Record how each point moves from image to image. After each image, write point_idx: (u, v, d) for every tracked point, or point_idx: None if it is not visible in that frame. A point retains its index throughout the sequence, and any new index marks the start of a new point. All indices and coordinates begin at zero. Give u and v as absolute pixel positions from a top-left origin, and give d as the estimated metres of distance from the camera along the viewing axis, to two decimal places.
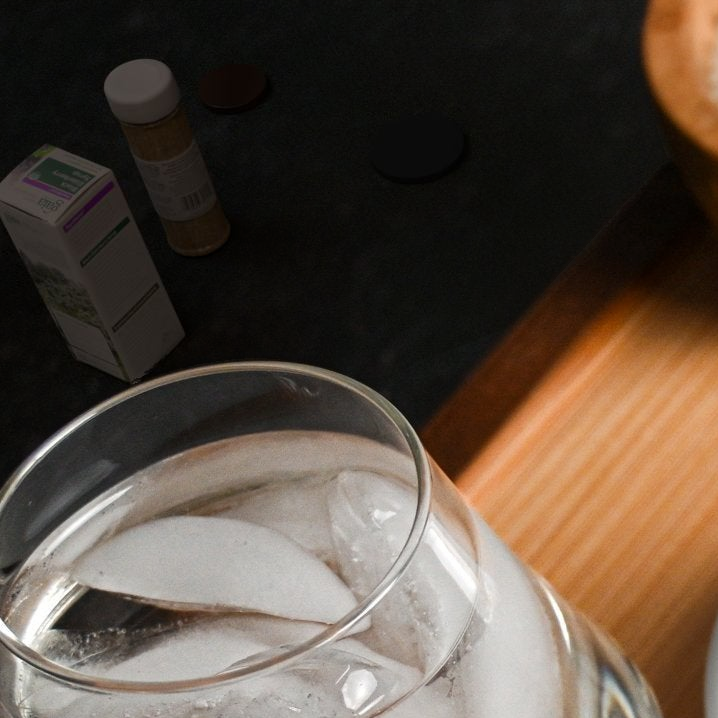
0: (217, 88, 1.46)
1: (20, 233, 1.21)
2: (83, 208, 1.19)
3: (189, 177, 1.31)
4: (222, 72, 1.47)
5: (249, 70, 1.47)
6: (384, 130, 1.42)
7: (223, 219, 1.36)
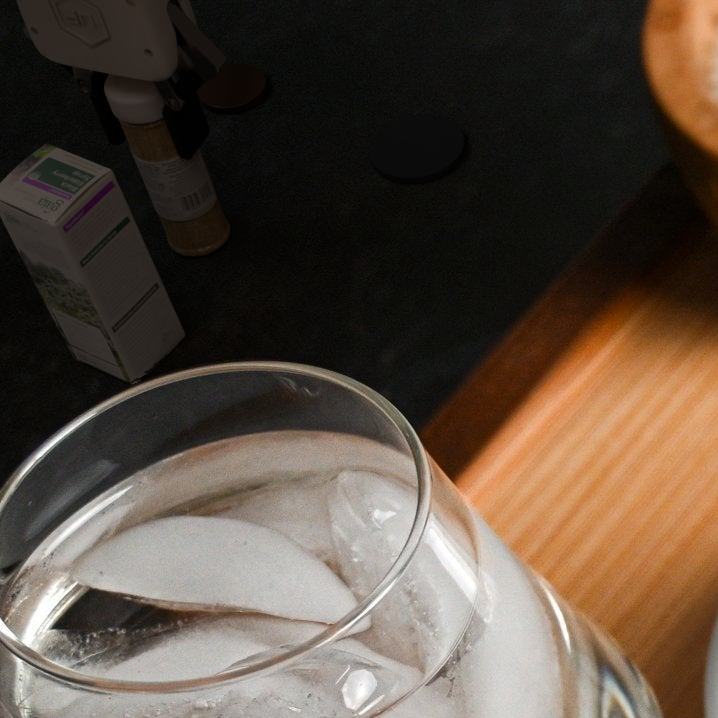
0: (217, 88, 1.46)
1: (20, 233, 1.21)
2: (83, 208, 1.19)
3: (189, 178, 1.31)
4: (222, 72, 1.47)
5: (249, 70, 1.47)
6: (384, 130, 1.42)
7: (223, 219, 1.36)
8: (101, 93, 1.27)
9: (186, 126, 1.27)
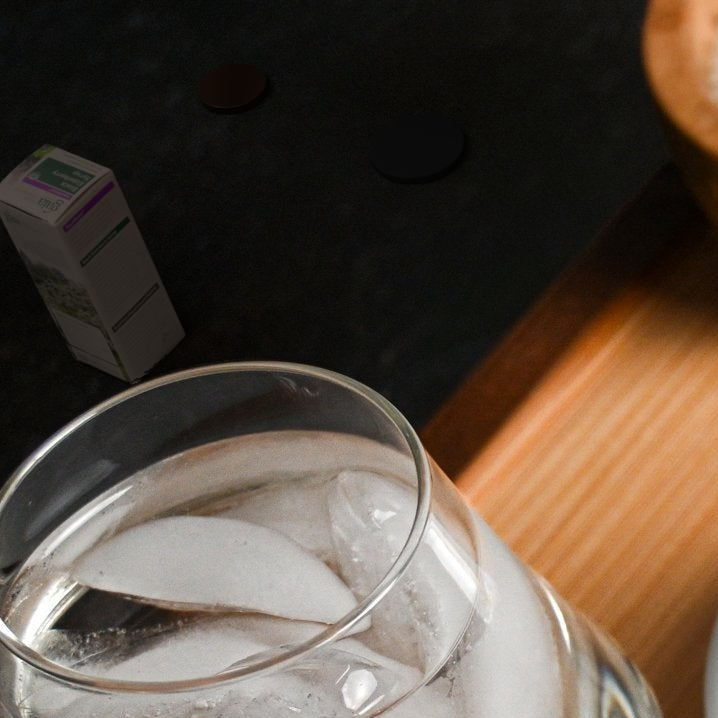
0: (217, 88, 1.46)
1: (20, 233, 1.21)
2: (83, 208, 1.19)
3: None
4: (222, 72, 1.47)
5: (249, 70, 1.47)
6: (384, 130, 1.42)
7: None
8: None
9: None
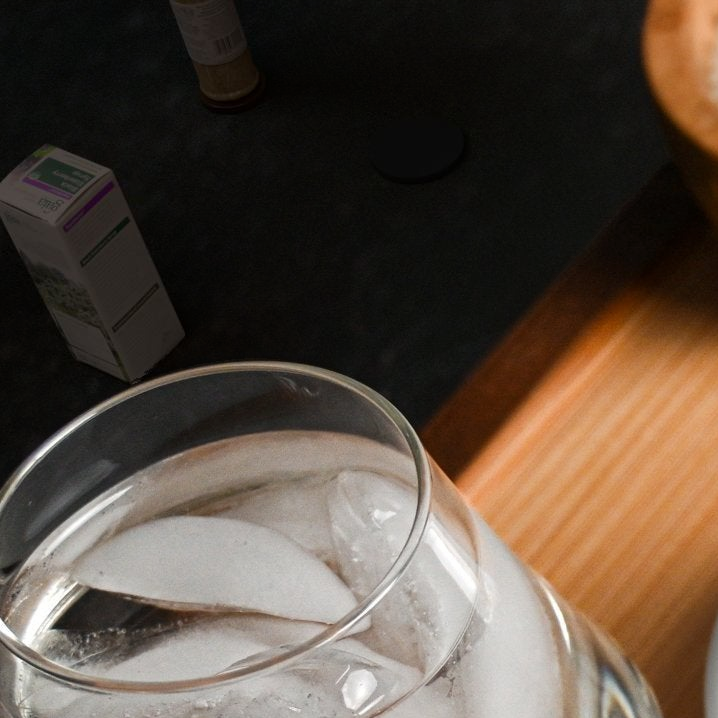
0: None
1: (20, 233, 1.21)
2: (83, 208, 1.19)
3: (221, 21, 1.39)
4: None
5: None
6: (384, 130, 1.42)
7: (253, 66, 1.44)
8: None
9: None
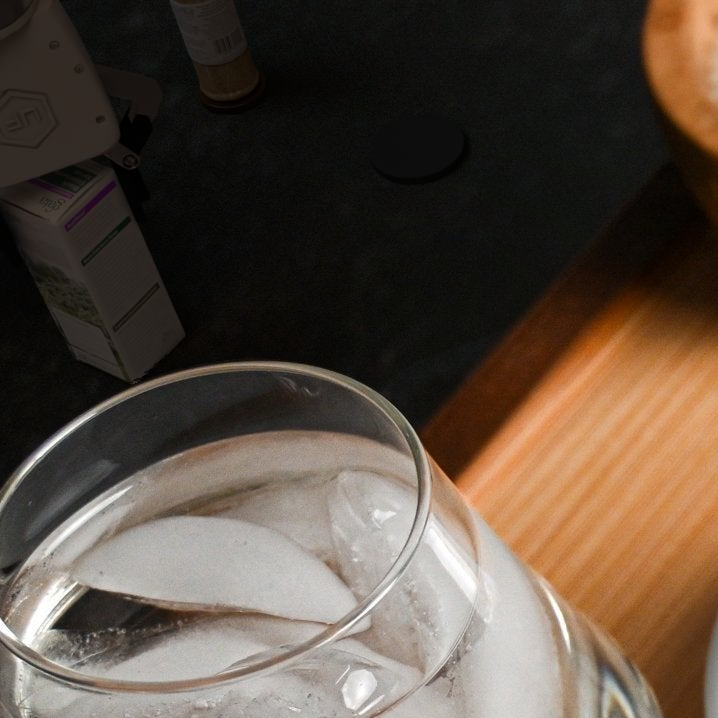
0: None
1: (21, 232, 1.21)
2: (85, 207, 1.19)
3: (221, 21, 1.39)
4: None
5: None
6: (384, 130, 1.42)
7: (253, 66, 1.44)
8: None
9: (137, 186, 1.22)
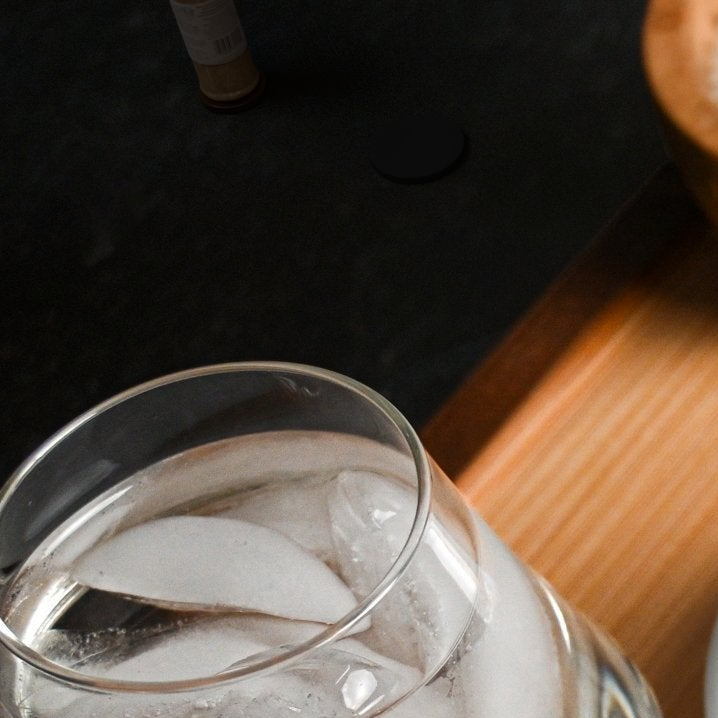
0: None
1: None
2: None
3: (221, 21, 1.39)
4: None
5: None
6: (384, 130, 1.42)
7: (253, 66, 1.44)
8: None
9: None
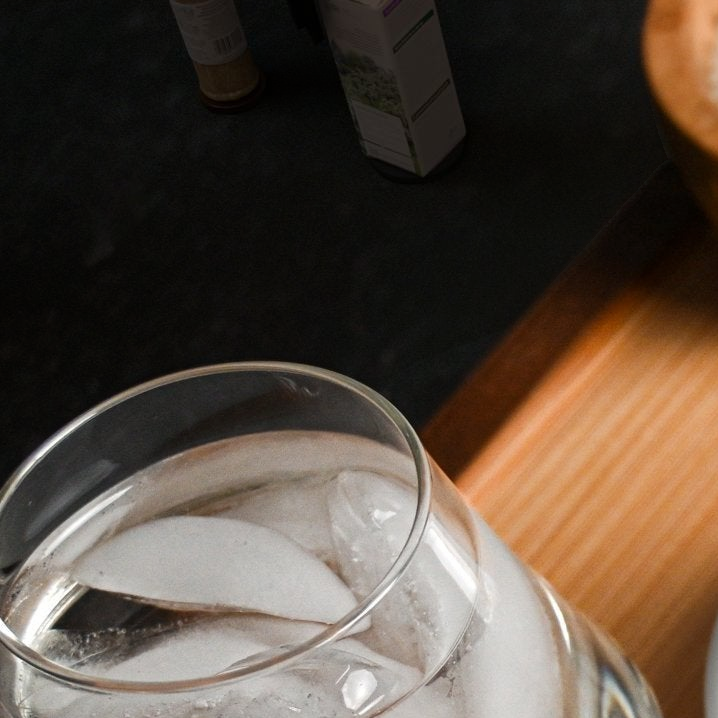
0: None
1: (336, 21, 1.30)
2: None
3: (221, 21, 1.39)
4: None
5: None
6: None
7: (253, 66, 1.44)
8: None
9: None
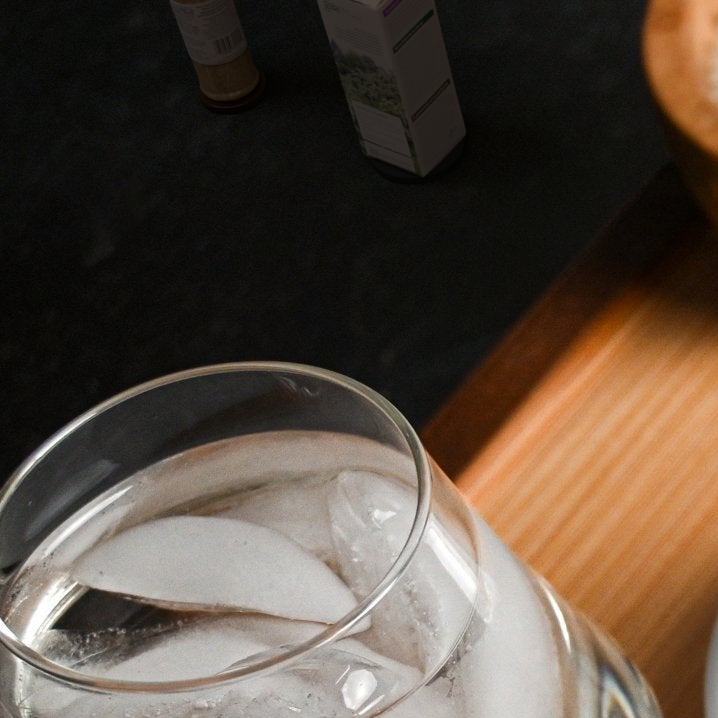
0: None
1: (336, 21, 1.30)
2: None
3: (221, 21, 1.39)
4: None
5: None
6: None
7: (253, 66, 1.44)
8: None
9: None
